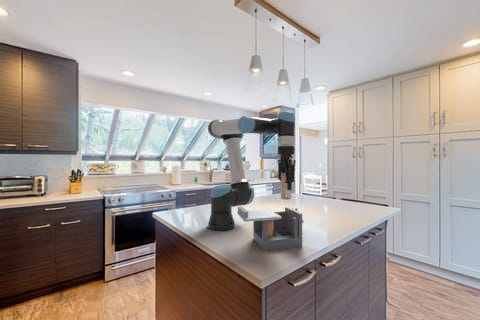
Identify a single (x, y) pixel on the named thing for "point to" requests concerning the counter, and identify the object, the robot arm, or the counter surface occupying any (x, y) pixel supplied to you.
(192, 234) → the counter surface
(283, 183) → the pin
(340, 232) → the counter surface
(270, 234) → the pin
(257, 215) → the pale blue flat panel
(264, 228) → the housing
